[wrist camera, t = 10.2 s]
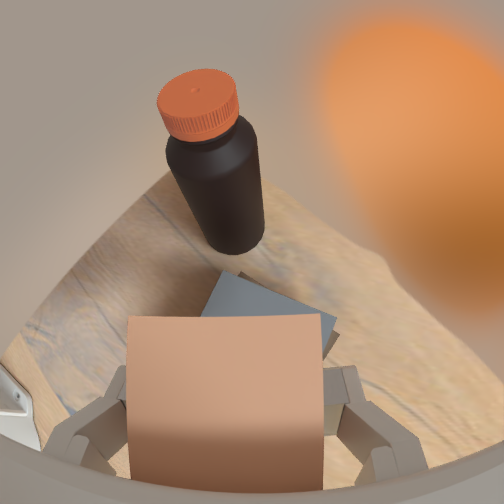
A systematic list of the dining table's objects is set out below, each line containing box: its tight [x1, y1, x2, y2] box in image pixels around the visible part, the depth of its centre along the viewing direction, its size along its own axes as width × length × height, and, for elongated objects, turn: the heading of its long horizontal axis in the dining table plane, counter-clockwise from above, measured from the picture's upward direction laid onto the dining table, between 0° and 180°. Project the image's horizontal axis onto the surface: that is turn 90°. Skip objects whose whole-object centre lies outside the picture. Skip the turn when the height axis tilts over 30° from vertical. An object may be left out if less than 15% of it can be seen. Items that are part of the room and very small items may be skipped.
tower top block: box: [200, 270, 337, 354], centre depth 25 cm, size 10×10×4 cm
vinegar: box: [157, 69, 265, 255], centre depth 26 cm, size 7×7×20 cm
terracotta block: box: [126, 313, 324, 493], centre depth 11 cm, size 5×5×8 cm
